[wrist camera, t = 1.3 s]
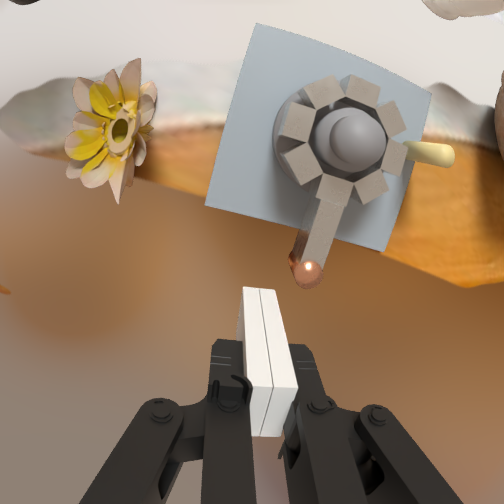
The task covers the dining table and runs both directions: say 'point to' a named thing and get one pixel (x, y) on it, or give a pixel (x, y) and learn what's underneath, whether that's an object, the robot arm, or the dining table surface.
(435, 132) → the dining table surface
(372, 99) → the grey gear lever
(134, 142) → the decorative flower
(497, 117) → the cooking pot
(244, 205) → the base
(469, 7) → the jar
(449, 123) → the dining table surface
